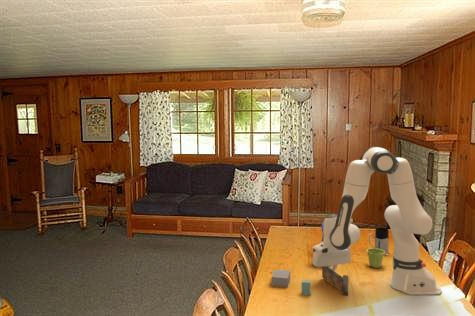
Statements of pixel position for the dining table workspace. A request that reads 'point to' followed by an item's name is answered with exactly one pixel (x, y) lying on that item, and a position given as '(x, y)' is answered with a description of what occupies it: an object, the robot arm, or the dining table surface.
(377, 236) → the lidded pitcher
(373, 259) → the plant pot
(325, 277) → the gate
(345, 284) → the hinge post
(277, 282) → the rubber block
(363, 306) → the dining table surface
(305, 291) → the grey-green rectangular block
